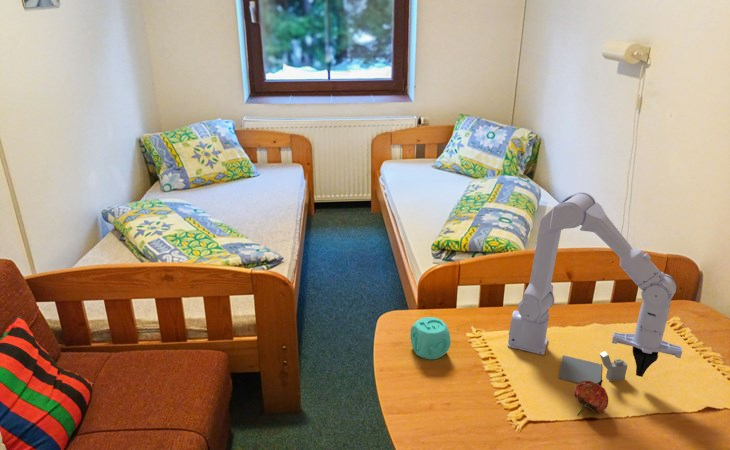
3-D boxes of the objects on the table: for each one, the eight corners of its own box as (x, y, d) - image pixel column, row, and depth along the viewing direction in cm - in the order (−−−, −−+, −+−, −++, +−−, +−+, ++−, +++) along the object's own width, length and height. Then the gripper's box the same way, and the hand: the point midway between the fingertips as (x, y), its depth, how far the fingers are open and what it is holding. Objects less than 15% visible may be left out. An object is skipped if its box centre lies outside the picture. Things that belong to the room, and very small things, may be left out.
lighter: (620, 375, 138) (626, 348, 134) (624, 379, 136) (631, 352, 133) (594, 378, 136) (599, 351, 133) (598, 382, 135) (604, 355, 132)
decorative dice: (409, 344, 149) (410, 319, 146) (436, 339, 151) (438, 314, 148) (421, 362, 142) (422, 335, 139) (449, 356, 144) (451, 330, 141)
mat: (558, 378, 136) (558, 377, 136) (562, 356, 145) (562, 355, 144) (599, 388, 133) (600, 387, 133) (601, 365, 141) (601, 364, 141)
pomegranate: (595, 432, 123) (624, 398, 124) (582, 415, 119) (611, 381, 120) (570, 413, 129) (598, 382, 130) (557, 397, 126) (585, 365, 127)
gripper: (616, 326, 127) (606, 375, 132) (688, 342, 121) (674, 392, 126) (616, 312, 133) (607, 359, 138) (685, 325, 127) (672, 374, 132)
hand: (639, 373), depth 133 cm, fingers closed
